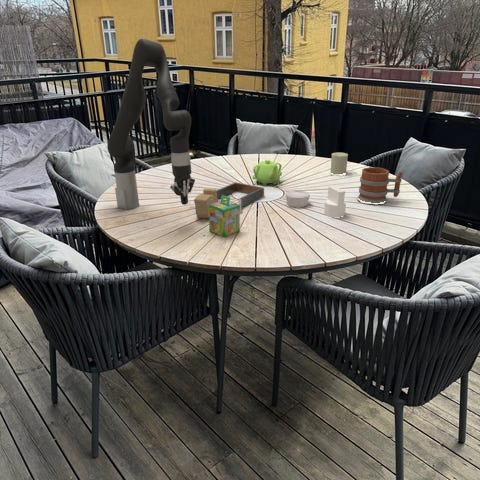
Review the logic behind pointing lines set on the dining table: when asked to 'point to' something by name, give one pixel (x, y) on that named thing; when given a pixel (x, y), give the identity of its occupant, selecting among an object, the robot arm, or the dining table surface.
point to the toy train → (205, 202)
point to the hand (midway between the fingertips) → (184, 203)
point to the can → (339, 163)
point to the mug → (377, 185)
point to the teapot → (267, 172)
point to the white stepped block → (335, 202)
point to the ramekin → (297, 198)
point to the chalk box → (224, 217)
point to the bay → (250, 190)
